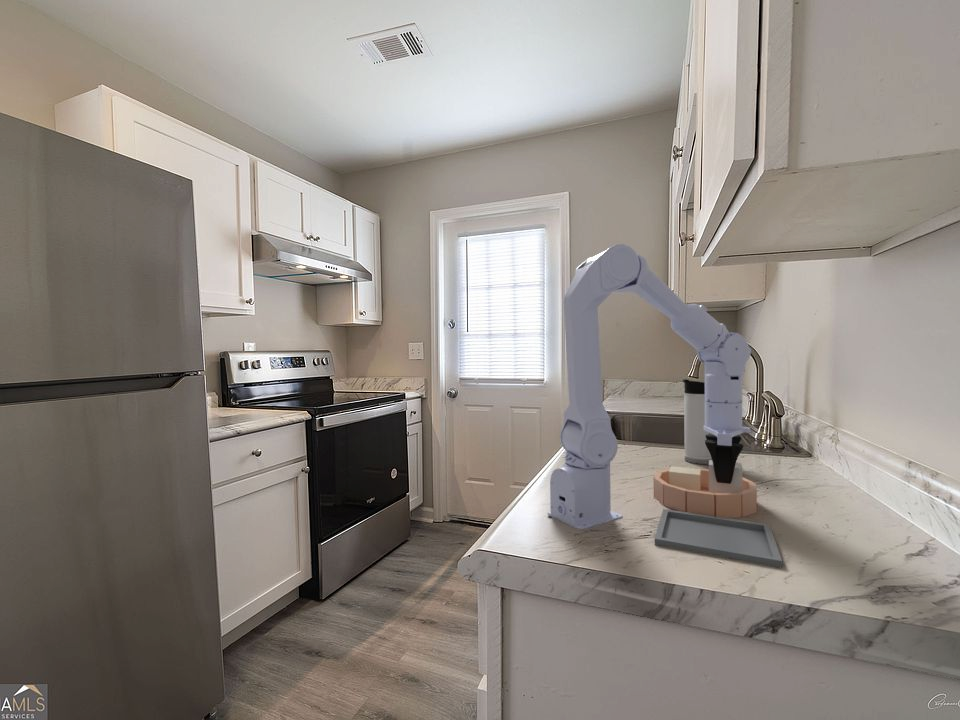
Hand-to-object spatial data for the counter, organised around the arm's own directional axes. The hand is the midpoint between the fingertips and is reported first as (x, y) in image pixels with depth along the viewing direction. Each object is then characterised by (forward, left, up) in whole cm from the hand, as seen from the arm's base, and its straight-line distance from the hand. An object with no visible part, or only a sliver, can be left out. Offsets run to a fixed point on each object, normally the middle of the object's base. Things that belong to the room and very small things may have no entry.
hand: (723, 478), depth 76 cm
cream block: (-3, +5, -4) cm, 7 cm away
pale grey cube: (0, 0, -2) cm, 2 cm away
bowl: (-2, +3, -5) cm, 6 cm away
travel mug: (+24, +21, -5) cm, 32 cm away
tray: (-15, -7, -5) cm, 17 cm away
